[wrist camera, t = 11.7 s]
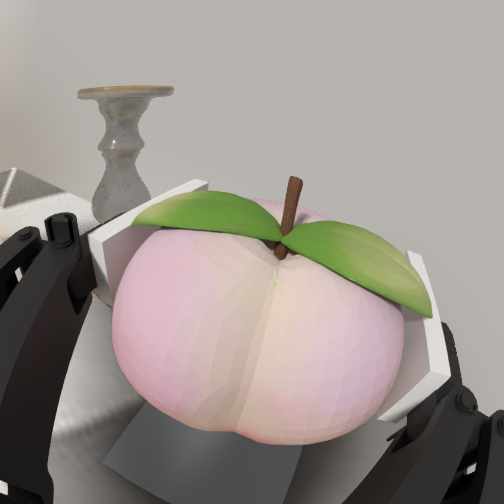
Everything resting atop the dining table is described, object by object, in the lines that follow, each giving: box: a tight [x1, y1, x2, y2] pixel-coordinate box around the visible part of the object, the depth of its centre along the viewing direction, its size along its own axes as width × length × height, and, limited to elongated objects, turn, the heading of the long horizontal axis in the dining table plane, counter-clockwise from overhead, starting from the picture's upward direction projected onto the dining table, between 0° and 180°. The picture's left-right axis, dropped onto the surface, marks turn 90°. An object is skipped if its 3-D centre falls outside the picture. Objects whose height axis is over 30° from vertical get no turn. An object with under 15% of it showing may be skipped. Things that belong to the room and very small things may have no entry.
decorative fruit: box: [112, 176, 433, 445], centre depth 9 cm, size 9×8×10 cm
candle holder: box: [77, 86, 174, 309], centre depth 27 cm, size 11×11×24 cm
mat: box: [101, 400, 303, 504], centre depth 19 cm, size 16×14×1 cm
